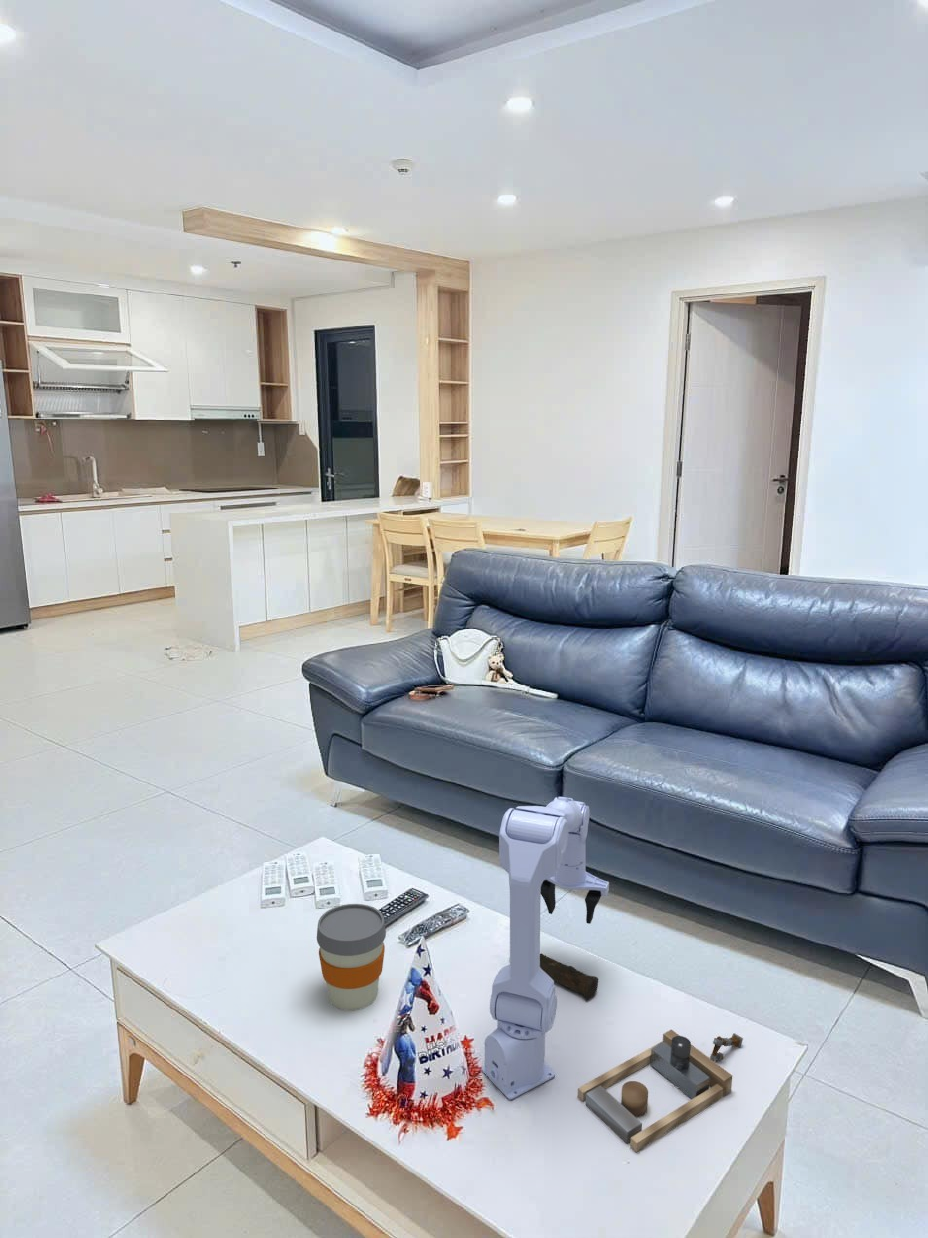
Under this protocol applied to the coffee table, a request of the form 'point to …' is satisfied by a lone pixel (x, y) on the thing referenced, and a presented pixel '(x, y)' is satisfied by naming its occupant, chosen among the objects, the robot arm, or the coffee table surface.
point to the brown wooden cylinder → (635, 1098)
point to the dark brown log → (569, 977)
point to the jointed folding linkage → (720, 1041)
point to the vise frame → (632, 1127)
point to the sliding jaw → (679, 1066)
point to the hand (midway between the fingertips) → (570, 915)
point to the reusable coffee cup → (351, 954)
